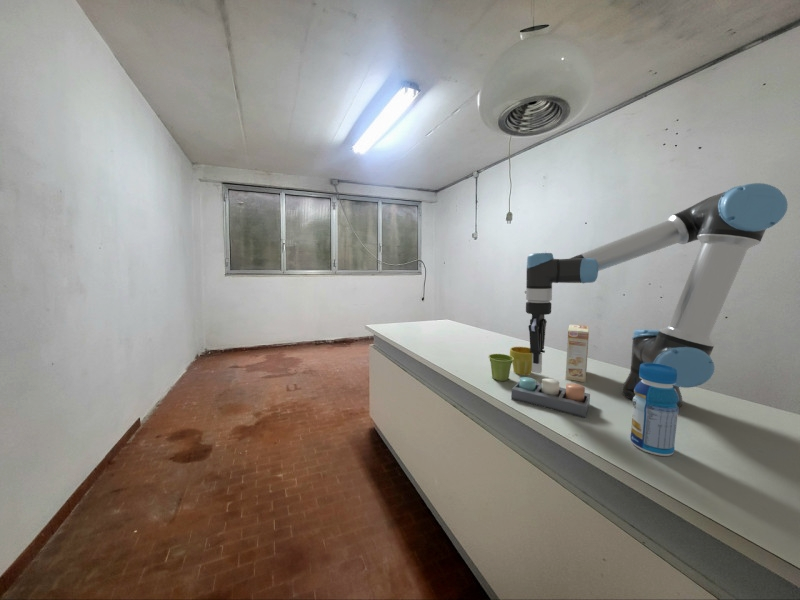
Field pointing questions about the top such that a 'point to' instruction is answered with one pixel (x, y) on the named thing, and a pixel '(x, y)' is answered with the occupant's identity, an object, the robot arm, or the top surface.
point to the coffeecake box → (577, 352)
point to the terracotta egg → (575, 392)
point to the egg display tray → (551, 400)
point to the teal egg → (527, 383)
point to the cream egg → (550, 387)
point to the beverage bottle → (655, 409)
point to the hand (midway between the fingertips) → (536, 372)
